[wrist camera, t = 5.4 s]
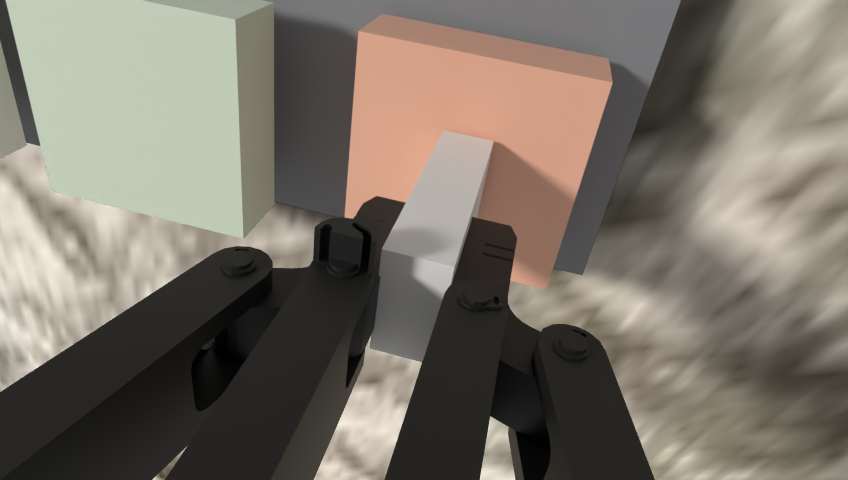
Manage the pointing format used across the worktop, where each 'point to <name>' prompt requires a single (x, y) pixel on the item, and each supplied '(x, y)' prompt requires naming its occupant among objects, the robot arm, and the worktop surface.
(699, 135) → the worktop surface
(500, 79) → the terracotta key
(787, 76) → the worktop surface
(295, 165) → the keypad board
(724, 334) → the worktop surface
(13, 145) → the cream key
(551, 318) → the worktop surface
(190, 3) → the sage key
